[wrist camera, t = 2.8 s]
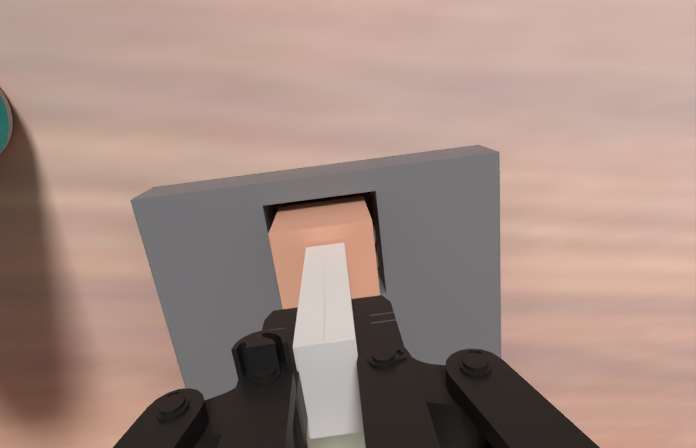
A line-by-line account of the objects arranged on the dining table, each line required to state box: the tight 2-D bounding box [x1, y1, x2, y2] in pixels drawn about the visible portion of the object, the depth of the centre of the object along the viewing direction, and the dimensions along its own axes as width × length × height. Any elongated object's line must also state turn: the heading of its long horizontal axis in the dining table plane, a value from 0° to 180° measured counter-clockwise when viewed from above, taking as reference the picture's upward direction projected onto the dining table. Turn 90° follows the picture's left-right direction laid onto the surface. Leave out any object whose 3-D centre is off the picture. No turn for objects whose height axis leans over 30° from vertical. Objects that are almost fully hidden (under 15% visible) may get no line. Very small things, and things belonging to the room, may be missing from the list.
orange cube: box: [268, 196, 381, 309], centre depth 18 cm, size 4×4×4 cm
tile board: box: [131, 145, 501, 400], centre depth 22 cm, size 16×18×2 cm
